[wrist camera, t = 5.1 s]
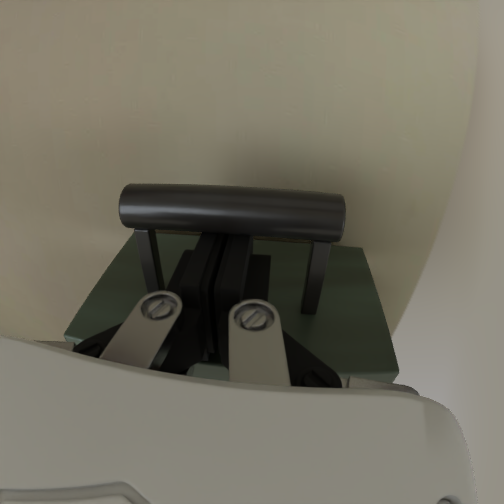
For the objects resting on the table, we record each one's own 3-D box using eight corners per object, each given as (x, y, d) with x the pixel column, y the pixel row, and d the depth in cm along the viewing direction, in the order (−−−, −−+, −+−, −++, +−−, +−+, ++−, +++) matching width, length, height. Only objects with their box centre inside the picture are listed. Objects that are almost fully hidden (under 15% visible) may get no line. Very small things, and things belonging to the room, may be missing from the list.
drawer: (121, 148, 14) (14, 227, 7) (381, 160, 13) (461, 258, 6) (169, 371, 24) (145, 452, 17) (318, 385, 23) (320, 473, 17)
